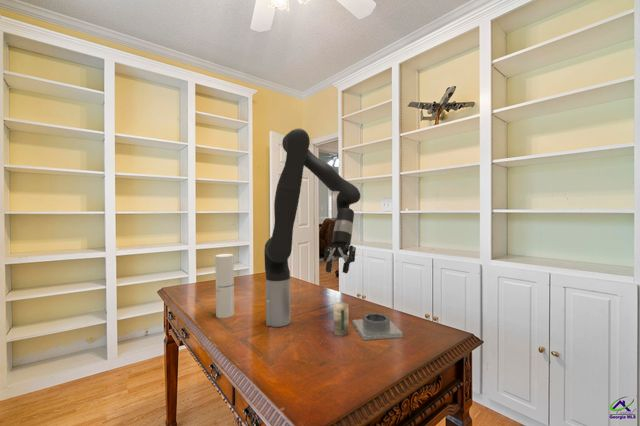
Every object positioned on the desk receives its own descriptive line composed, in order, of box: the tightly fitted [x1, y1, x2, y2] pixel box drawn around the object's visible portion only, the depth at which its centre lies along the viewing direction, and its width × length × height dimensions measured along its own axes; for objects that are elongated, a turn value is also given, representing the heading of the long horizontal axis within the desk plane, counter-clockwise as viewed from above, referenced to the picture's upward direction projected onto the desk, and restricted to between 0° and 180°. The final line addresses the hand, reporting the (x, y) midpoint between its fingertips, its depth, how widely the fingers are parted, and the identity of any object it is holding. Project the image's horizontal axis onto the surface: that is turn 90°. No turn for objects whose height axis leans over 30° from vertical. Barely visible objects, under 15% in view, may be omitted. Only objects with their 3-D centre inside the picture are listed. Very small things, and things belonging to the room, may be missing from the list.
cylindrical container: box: [214, 253, 235, 319], centre depth 122 cm, size 7×7×25 cm
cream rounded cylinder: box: [333, 302, 349, 337], centre depth 103 cm, size 5×5×10 cm
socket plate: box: [351, 312, 404, 341], centre depth 105 cm, size 14×14×4 cm
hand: (336, 272), depth 113 cm, fingers open, 8 cm apart
